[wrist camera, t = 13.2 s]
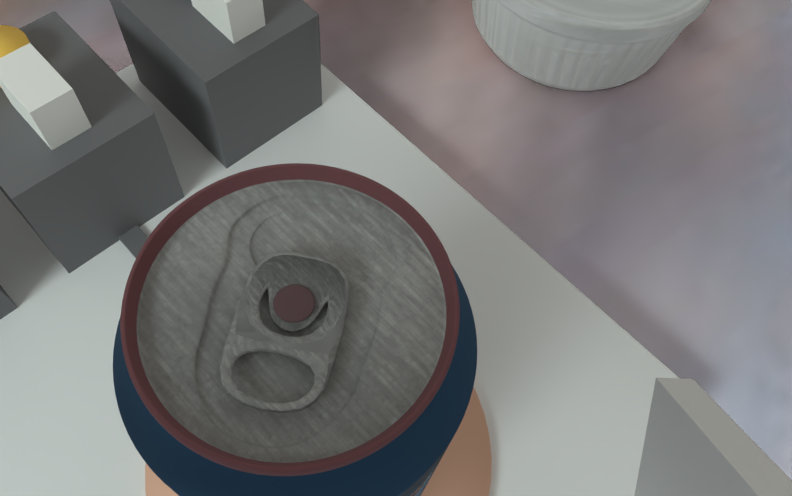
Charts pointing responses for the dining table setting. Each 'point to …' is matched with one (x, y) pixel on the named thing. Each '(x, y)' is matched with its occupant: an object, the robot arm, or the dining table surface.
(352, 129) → the breaker board
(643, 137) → the dining table surface
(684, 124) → the dining table surface
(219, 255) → the soda can
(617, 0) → the ramekin
